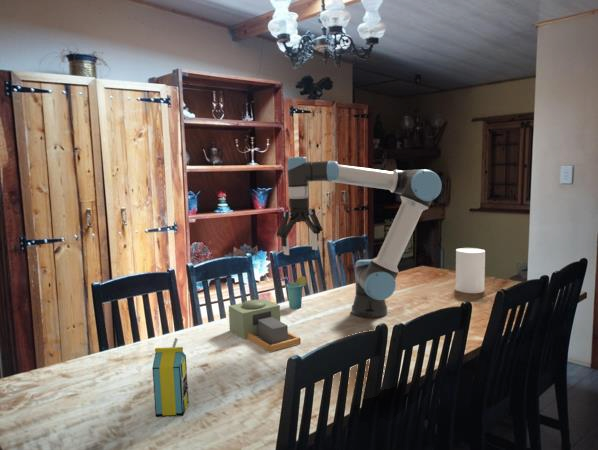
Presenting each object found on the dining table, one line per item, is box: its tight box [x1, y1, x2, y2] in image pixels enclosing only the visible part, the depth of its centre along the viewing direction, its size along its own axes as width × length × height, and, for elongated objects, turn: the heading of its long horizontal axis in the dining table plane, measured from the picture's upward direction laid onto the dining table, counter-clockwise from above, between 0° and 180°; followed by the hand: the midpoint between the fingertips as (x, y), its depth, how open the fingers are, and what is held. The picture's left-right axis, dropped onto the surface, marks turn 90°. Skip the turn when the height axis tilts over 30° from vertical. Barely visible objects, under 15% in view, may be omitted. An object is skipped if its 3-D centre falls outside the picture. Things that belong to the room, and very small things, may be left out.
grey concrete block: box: [257, 317, 289, 345], centre depth 168 cm, size 6×12×7 cm, turn 31°
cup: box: [279, 275, 308, 310], centre depth 206 cm, size 14×8×15 cm, turn 127°
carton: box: [151, 337, 189, 418], centre depth 121 cm, size 7×8×18 cm
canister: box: [455, 247, 486, 294], centre depth 229 cm, size 14×14×20 cm
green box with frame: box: [228, 298, 302, 353], centre depth 172 cm, size 16×28×11 cm, turn 34°
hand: (300, 252), depth 179 cm, fingers open, 13 cm apart
